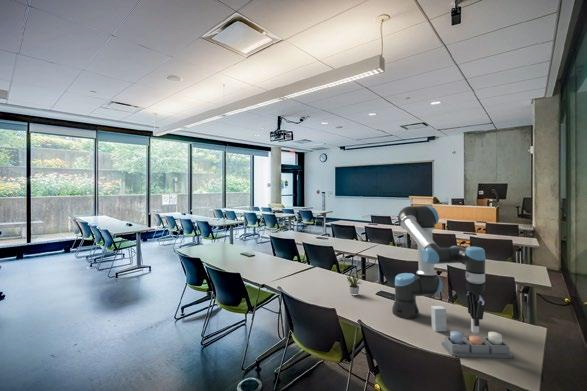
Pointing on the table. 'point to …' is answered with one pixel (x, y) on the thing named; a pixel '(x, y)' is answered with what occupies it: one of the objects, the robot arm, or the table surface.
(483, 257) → the robot arm
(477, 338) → the button terracotta
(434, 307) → the skincare box
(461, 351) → the tray
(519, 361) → the table surface
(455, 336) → the blue button
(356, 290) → the house plant
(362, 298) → the table surface
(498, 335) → the button cream
